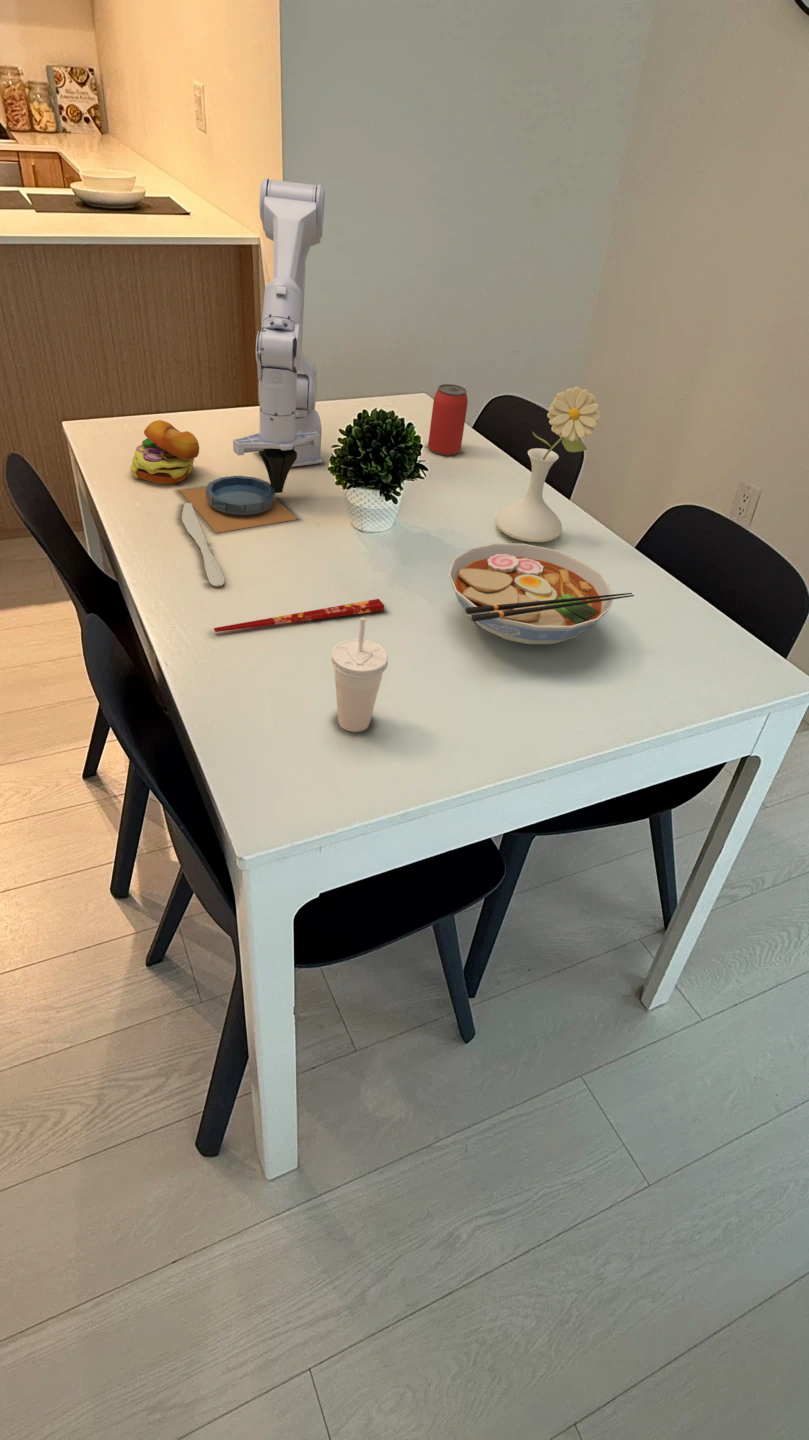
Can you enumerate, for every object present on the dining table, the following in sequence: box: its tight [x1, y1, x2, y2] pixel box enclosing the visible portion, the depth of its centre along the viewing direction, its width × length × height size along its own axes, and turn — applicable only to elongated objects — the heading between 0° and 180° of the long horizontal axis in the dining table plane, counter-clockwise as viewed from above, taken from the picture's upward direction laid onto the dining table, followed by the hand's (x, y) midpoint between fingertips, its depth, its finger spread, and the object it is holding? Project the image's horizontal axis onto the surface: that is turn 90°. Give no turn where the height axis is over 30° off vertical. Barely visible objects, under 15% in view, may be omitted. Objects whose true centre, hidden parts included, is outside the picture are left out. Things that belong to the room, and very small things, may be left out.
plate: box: [206, 475, 276, 515], centre depth 143 cm, size 11×11×2 cm
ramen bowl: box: [447, 542, 635, 645], centre depth 120 cm, size 25×23×8 cm
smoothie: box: [330, 616, 389, 733], centre depth 98 cm, size 6×6×14 cm
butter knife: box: [181, 502, 226, 587], centre depth 132 cm, size 1×27×3 cm
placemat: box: [179, 486, 298, 534], centre depth 144 cm, size 14×16×1 cm
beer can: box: [427, 383, 469, 456], centre depth 169 cm, size 7×7×12 cm
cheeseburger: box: [130, 419, 200, 485], centre depth 148 cm, size 10×11×10 cm
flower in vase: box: [494, 386, 601, 543], centre depth 139 cm, size 13×11×25 cm
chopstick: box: [213, 598, 385, 633], centre depth 118 cm, size 2×24×1 cm, turn 116°
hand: (276, 490), depth 146 cm, fingers closed
